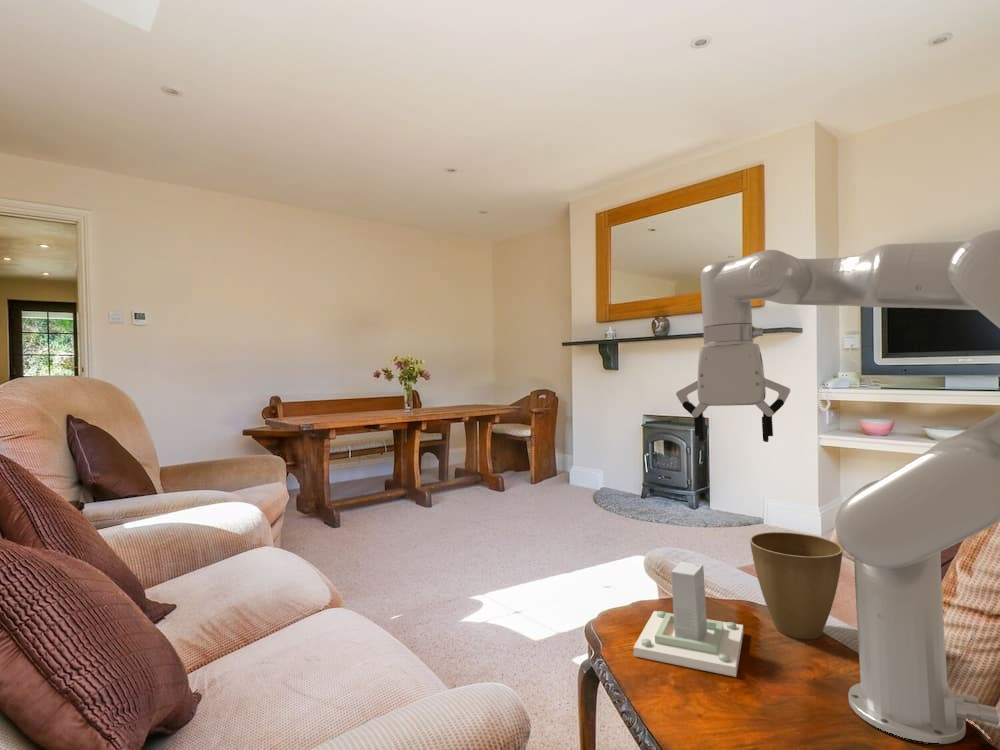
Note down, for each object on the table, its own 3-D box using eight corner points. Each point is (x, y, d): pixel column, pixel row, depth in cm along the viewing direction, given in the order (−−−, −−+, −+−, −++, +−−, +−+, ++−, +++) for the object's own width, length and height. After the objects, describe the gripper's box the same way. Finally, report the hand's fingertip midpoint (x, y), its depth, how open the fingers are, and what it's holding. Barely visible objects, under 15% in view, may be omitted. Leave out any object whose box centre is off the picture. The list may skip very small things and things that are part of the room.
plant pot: (752, 641, 94) (747, 550, 94) (755, 608, 107) (751, 528, 107) (852, 657, 87) (847, 559, 87) (843, 621, 100) (838, 535, 100)
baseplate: (743, 633, 97) (742, 618, 97) (736, 676, 83) (735, 659, 83) (654, 618, 104) (653, 604, 104) (633, 656, 90) (633, 640, 90)
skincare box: (683, 626, 97) (680, 560, 97) (707, 631, 95) (704, 564, 95) (673, 640, 92) (670, 571, 92) (699, 646, 90) (695, 575, 90)
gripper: (787, 334, 87) (792, 438, 87) (677, 342, 95) (682, 438, 95) (787, 331, 81) (793, 444, 80) (669, 340, 89) (675, 442, 88)
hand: (733, 440), depth 88 cm, fingers open, 9 cm apart
